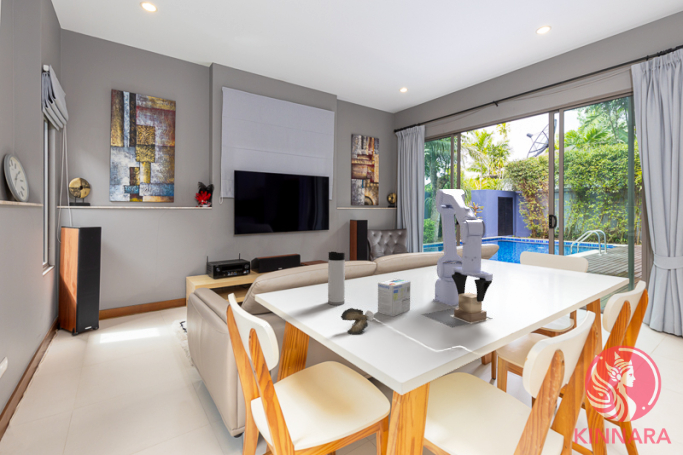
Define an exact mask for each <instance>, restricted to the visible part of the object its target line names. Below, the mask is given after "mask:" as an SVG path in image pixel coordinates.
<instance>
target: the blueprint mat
mask: <svg viewBox="0 0 683 455" xmlns="http://www.w3.org/2000/svg"><path fill="white" fill-rule="evenodd" d="M456 308H457V307H454V308H448V309H442V310H436V311H433V312H426V313H420V315H422V316H424V317H427V318H429V319H431V320H434V321H436V322H439V323H441V324H443V325H445V326H449V327H450V328H456V327H461V326H465V325H473V324H475V323H480V322H484V321H491V320H493V318H492V317H489V316H487V318H486V319H485V320H480V321H476V322H469V321H466V320H463V319H460V318H458V317H455V316H454V309H456Z"/></svg>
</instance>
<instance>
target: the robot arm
mask: <svg viewBox="0 0 683 455" xmlns="http://www.w3.org/2000/svg"><path fill="white" fill-rule="evenodd" d="M435 194H436V195H435V208H436V211H437V212H438V213H439V214H440V218H441V228H442V229H441V230H442V243H443V246H442V247H443V255H442V256H439V258H438V259H437V262H436V263H437V264H436V275H437V277H438V278H437V279H436V281H435V283H434V298H432V299H433V301H436V302H438V303H442V304H445V305H448V306H457V305H458V302H459V294H463V293H466V284H467V279H468V277H471V278H477V279H474V284H475V288H476V295H477V301H478V302H481V301H482V302H484V299H485V296H486V294H487V291H488V289H489V287H490V285H491V284H492V282H493V277H494V276H493V273H489V272H488V271H487V272H486V271H483V270H482V248H483V247H482V246H483V245H482V243H483V240H482V239H483V238H484V237H485V235H486V230H487V229H486V223H485V221H484V220H483V219H480V218H477V216H476V215H475V213H474V211H473V210H472V209H471V207H469V206H466V203H465V201H466V192H465V191H464V189H462V188H460V189H452V188H451V189H450V188H449V189H445V188H444V189H441V188H439V189H437V191H436V193H435ZM455 218H456V221H457V222H458V224H459V226H460V227H459V233H460V238H461V239H460V241H461V243H462V248H461V249H462V253H461V254H462V256H460V255H459V254H458V249H457V248H458V246H457V237H456V236H457V235H456V225H455Z"/></svg>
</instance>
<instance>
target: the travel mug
mask: <svg viewBox="0 0 683 455" xmlns="http://www.w3.org/2000/svg"><path fill="white" fill-rule="evenodd" d="M345 257H346V253H345V252H337V251H328V263H327V264H328V266H327V267H328V268H327V270H328V271H327V272H328V273H327V274H328V275H327V276H328V278H327V279H328V280H327V281H328V282H327V290H328V291H327V292H328V293H327V303H328V304H329V305H332V306H342V305H344V304H345V292H346V291H345V289H346V287H345V286H346V284H345V280H346V279H345V276H346V272H345V271H346V270H345V269H346V267H345V266H346V263H345V262H346V260H345Z"/></svg>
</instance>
